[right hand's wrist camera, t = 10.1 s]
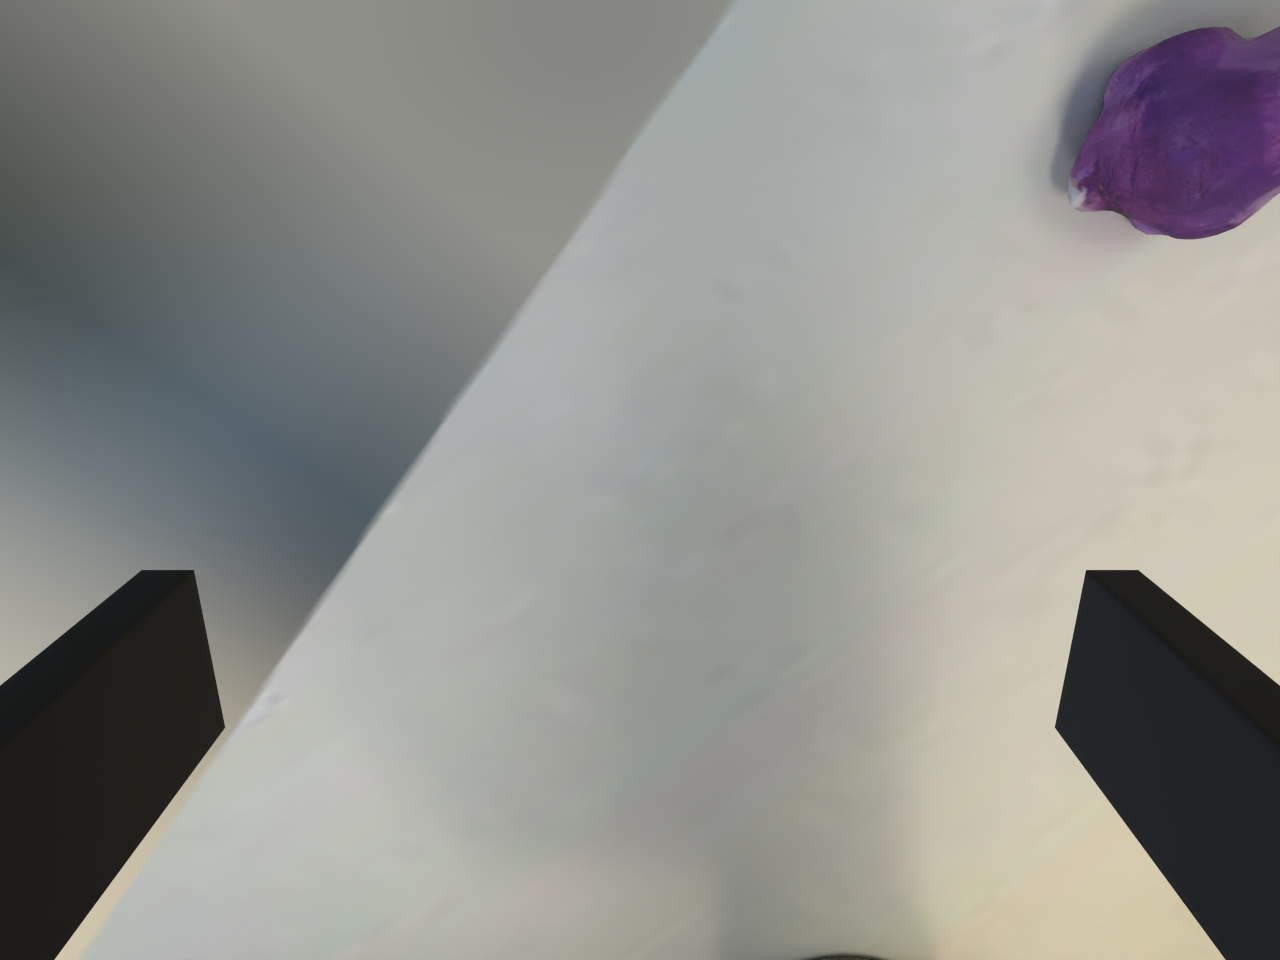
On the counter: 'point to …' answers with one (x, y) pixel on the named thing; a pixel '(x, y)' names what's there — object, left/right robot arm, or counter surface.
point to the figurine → (1186, 135)
